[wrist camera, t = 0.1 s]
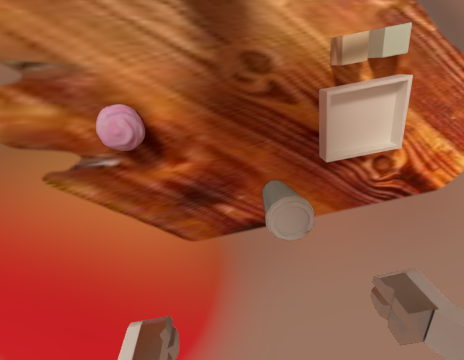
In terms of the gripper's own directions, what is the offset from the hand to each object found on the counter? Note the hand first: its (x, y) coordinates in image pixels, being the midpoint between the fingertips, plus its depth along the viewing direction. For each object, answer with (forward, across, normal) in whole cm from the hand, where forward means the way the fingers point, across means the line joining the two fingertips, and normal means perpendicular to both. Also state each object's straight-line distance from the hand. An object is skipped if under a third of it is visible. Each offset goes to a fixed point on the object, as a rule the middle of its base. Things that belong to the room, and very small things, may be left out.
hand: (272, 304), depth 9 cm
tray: (+48, -31, +8) cm, 58 cm away
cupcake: (+48, +20, -1) cm, 52 cm away
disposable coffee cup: (+48, -10, +23) cm, 54 cm away
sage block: (+48, -35, -7) cm, 60 cm away
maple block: (+48, -27, -7) cm, 55 cm away
